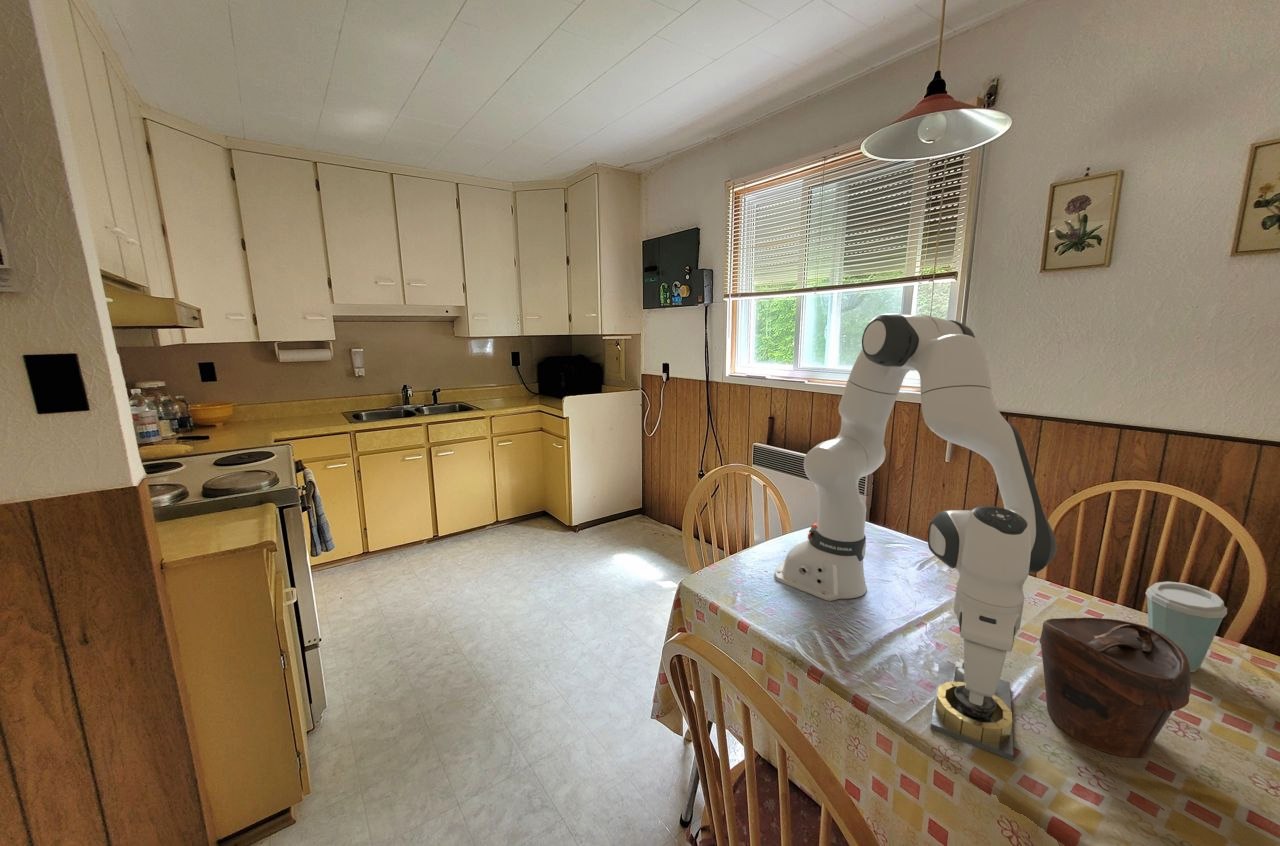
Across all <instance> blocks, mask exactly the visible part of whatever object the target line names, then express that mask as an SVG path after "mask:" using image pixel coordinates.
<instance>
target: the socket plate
mask: <svg viewBox="0 0 1280 846" xmlns="http://www.w3.org/2000/svg"><path fill="white" fill-rule="evenodd" d="M961 685H965V683H964V658H961V659H957V660H956V661H955V664H954V663H951V662H947V661H944V660H940V661H939V669H938V674H937V682H936V687H935V688H936V689H935V695H934V700H933V701H934V703H933V708H932V715H931V720H930V722H931V723H930V730H933V731H936V732H938V733H940V734H943V735H946V736H947V737H950V738H953V739H955V740H959V741H961V742H963V743H966V744H969V745H971V746H973V747H976V748H979V749H982V750H984V751H987V752H989V753H990V754H991V753H992V754H994V755H996V756H997V755H998V756H999V757H1002V758H1004V759H1007V760H1010V761H1011V762H1013V761H1014V756H1015V755H1014V738H1013V737H1014V736H1013V712H1012V702H1011V701H1012V700H1011V698H1012V697H1011V683H1010V681H1007V680H1003V679H1001V678H1000V679H999V683H998V686H997V689H996V692H995V694H994V695H993V696H992V698H993V699H994V700H995V702H996V709H995V710H993V712H992V713H991V714H990V715H989V717H990V719H991V723H986V722H979V721H976V720H974V719H971V718H968V717H965V716H964V715H962V714H961V713H959V712H958V711H957V710H955V709H954V707H955V706H956V705H958V702H957V699H956V696H955V693H954V690H955V688H956V687H958V686H961Z"/></svg>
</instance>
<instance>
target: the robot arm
mask: <svg viewBox="0 0 1280 846" xmlns="http://www.w3.org/2000/svg"><path fill="white" fill-rule="evenodd" d="M910 371H917V372H918V375H919V379H920V402H921V403H920V405H921V413H922V417H923V420H924V423H925V425H926V426H927V428H929V430H930V431H931V432H933V433H934V434H935V435H937V437H939V438H941V439H943V440H945V441H947V442H949V443H950V444H955V445H957V446H959V447H964V448H966V449H968V450H970V451H972V452H975V453H976V454H978V455H980V456H982V457H983V458H984V459H986V461H988V463H989V464H990V465H991V467H992V469H993V471H994V475H995V478H996V481H997V485H998V489H999V493H1000V496H1001V500H1002V503H1003V507H1004V508H1003V507H1000V506H996V505H995V506H994V505H982V506H976V507H974V508H972V509H971V510H968V509H967V510H965V509H963V510H961V509H959V510H958V509H950V510H949V509H948V510H941V511H939V512H938V513H937V514H936V515H935V516H934V517H933V518H932V519H931V520H930V522H929V525H928V531H927V545H928V549H929V550H930V552H931V553H932V554H933V555H934V556H935V557H936V558H937V559H938V560H940V562H942V563H943V564H945V565H946V566H947V567H949V568H951V569H955V570H956V571H958V574H959V577H958V580H957V582H956V588H955V596H954V597H955V598H954V602H953V603H954V604H953V612H954V614H955V615H956V620H957V621H958V626H959V637H960V638H961V639H963V640H962V641H963V659H964V683H965V687H966V688H967V689H968V690H970V694H969V701H970V702H971V703H973V704H976V705H979V706H981V705H983V699H984V696H988V697H992V696H993V695H994V694H995V692H996V689H997V686H998V683H999V679H1001V675H1002V673H1003V668H1004V665H1005V660H1006V657H1007V652H1009V653H1011V652H1012V651H1013V647H1014V643H1015V642H1014V641H1015V637H1016V635H1017V633H1018V631H1019V630H1020V628H1021V623H1022V619H1023V618H1022V616H1023V610H1024V609H1023V608H1024V604H1025V594H1024V586H1025V585H1024V584H1025V583H1026V581H1027V579H1028V576H1029V574H1036V573H1038V572H1041V571H1042V570H1044V569H1045V568H1047V566H1048V565H1049V564H1051V562H1053V559H1054V558H1055V557H1056V554H1057V551H1058V543H1057V538H1056V535H1055V534H1054V531H1053V528H1052V527H1051V524H1050V522H1049V521H1048V519H1047V518H1048V517H1046V514H1045V512H1044V509H1043V506H1042V503H1041V500H1040V495H1039V491H1038V489H1037V486H1036V483H1035V478H1034V475H1033V473H1032V469H1031V465H1030V462H1029V458H1028V456H1027V455H1028V454H1027V451H1026V448H1025V446H1024V443H1023V441H1022V437H1021V435H1020V432H1019V431H1018V429H1017V428H1016V426H1015V425H1014V424H1013V423H1012V422H1010V421H1008V420H1006V419H1005V418H1004V416H1003V415H1002V414H1001V412H1000V410H999V409H998V407H997V405H996V403H995V399H994V397H993V391H992V383H991V376H990V370H989V365H988V362H987V359H986V355H985V352H984V349H983V346H982V344H981V342H980V341H979V340H978V338H977V339H976V336H975V334H974V332H973V330H972V329H971V328H970V327H969V326H968V325H966V324H964V323H961V322H959V321H956V320H953V319H952V320H951V319H948V320H947V319H944V318H942V317H936V316H932V315H924V314H923V315H919V314H918V315H915V314H901V313H898V312H892V313H890V312H889V313H888V312H887V313H882V314H878V315H877V316H874V317H873V318H872V319H871V320H870V321H869V322H868V324H867V325H866V327H865V328H864V330H863V334H862V337H861V350H860V352H859V354H858V356H857V357H856V360H855V362H854V364H853V366H852V368H851V371H850V373H849V376H848V378H847V382H846V384H845V388H844V390H843V394H842V396H841V398H840V401H839V404H838V407H837V411H838V413H839V415H840V417H841V419H840V421H841V422H840V430H839V433H838V435H837V436H836V437H834V438H831V439H827V440H825V441H822V442H820V443H818V444H816V445H815V446H814V447H812V448H811V449H809V451H808V452H807V453H806V455H805V457H804V459H803V469H804V473H805V475H806V477H807V478H808V480H809V481H810V482H811V483H813V485H814V488H815V490H816V495H817V501H818V502H817V505H818V508H817V522H814V523H813V524H812V525H811V527H810V529H809V531H808V534H807V540H805V541H802V542H800V543H798V544H796V545H794V546H793V547H792V548H791V549H790V550H789V551H788V552H787V554H786V557H785V559H784V560H782V561H781V562H779V564H778V565H777V566H776V568H775V571H774V578H775V580H776V581H778V582H779V583H783V584H785V585H787V586H790V587H792V588H794V589H798V590H800V591H803V592H805V593H808V594H809V595H812V596H815V597H818V598H820V599H821V600H825V601H829V602H831V601H837V600H839V599H843V600H844V599H854V598H856V599H857V598H859V597H861V596H863V595H865V594H866V593H867V591H868V589H867V588H868V587H867V584H866V579H865V578H866V577H865V569H864V558H865V556H866V547H867V541H866V540H867V536H866V535H865V529H866V516H867V506H866V504H865V502H864V501H863V500H862V498H861V495H860V490H859V482H860V479H861V478H863V477H864V478H865V477H866V476H869V475H871V474H873V473H874V472H875V471H876V470H877V469H879V467H881V466H882V464H883V463H884V462H885V460H886V456H887V451H886V447H885V436H886V435H885V434H886V431H887V424H888V422H889V418H890V415H891V413H892V410H893V408H894V406H895V403H896V400H897V397H898V395H899V392H900V390H901V387H902V385H903V382H904V379H905V377H906V375H907V374H908V373H909V372H910Z"/></svg>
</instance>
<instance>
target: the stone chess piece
mask: <svg viewBox="0 0 1280 846" xmlns="http://www.w3.org/2000/svg"><path fill="white" fill-rule="evenodd" d="M954 693H955V696H956V699H957V702H958V705H956V706H955V707H954V709H955V710H957V711H958V712H959V713H961V714H962V715H964V716H965V717H968V718H971V719H974V720H976V721H979V722H986V723H991V719H990V717H989V715H990V714H991V713H992V712H993V710H995V709H996V702H995V700H994V699H993V698H992V697H988V696H984V699H983V705H981V706H979V705H976V704H973V703H971V702H970V701H969V694H970V690H968V689H967V688H966V687H965V685H961V686H958V687H956V688H955V690H954Z"/></svg>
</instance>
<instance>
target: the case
mask: <svg viewBox="0 0 1280 846" xmlns="http://www.w3.org/2000/svg"><path fill="white" fill-rule="evenodd" d="M1038 639H1039V640H1038V641H1039V643H1040V650H1041V656H1042V665H1043V667H1042V669H1043V675H1044V676H1043V678H1044V687H1045V700H1046V709H1047V712H1048V714H1049V716H1050V718H1051V719H1052V721H1053V722H1054V723H1055V724H1056V725H1057V726H1058V727H1059V728H1060V729H1061V730H1063V731H1064V732H1065V733H1067V734H1068V735H1069V736H1070V737H1072V738H1074V739H1076V740H1078V741H1079V742H1081V743H1083V744H1084V745H1087V746H1089V747H1091V748H1093V749H1096V750H1098V751H1100V752H1101V751H1102V752H1105V753H1108V754H1110V755H1111V754H1112V755H1115V756H1119V757H1129V758H1130V757H1131V758H1132V757H1133V758H1136V757H1137V758H1143V757H1144V758H1145V757H1147V756H1148V754H1149V752H1150V749H1151V747H1152V745H1153V743H1154V741H1155V740H1156V738H1157V736H1158V735H1159V733H1160V732H1161V730H1162V729H1163V727H1164V726H1165V724H1166V722H1167V721H1168V719H1169V717H1170V716H1171V715H1172V713H1173V712H1175V711H1178V710H1181V709H1183V708H1185V707H1186V706H1187V705H1188V703H1190V696H1191V689H1192V688H1191V687H1192V685H1191V684H1192V683H1191V672H1190V666H1189V662H1188V659H1187V657H1186V655H1185V654H1184V652H1183V651H1182V650H1181V648H1180V647H1179V646H1178V645H1176V644H1175V643H1174V642H1173V641H1172V640H1170V639H1169V638H1168V637H1166V636H1165V635H1163V634H1162V633H1160V632H1158V631H1155V630H1153V629H1151V628H1149V626H1147V625H1144V624H1141V623H1140V624H1139V623H1135V622H1131V621H1126V620H1122V619H1115V618H1102V617H1101V618H1100V617H1065V618H1064V617H1063V618H1048V619H1046V620H1044V621H1043V623H1042V630H1041V634H1040V637H1039V638H1038Z"/></svg>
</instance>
